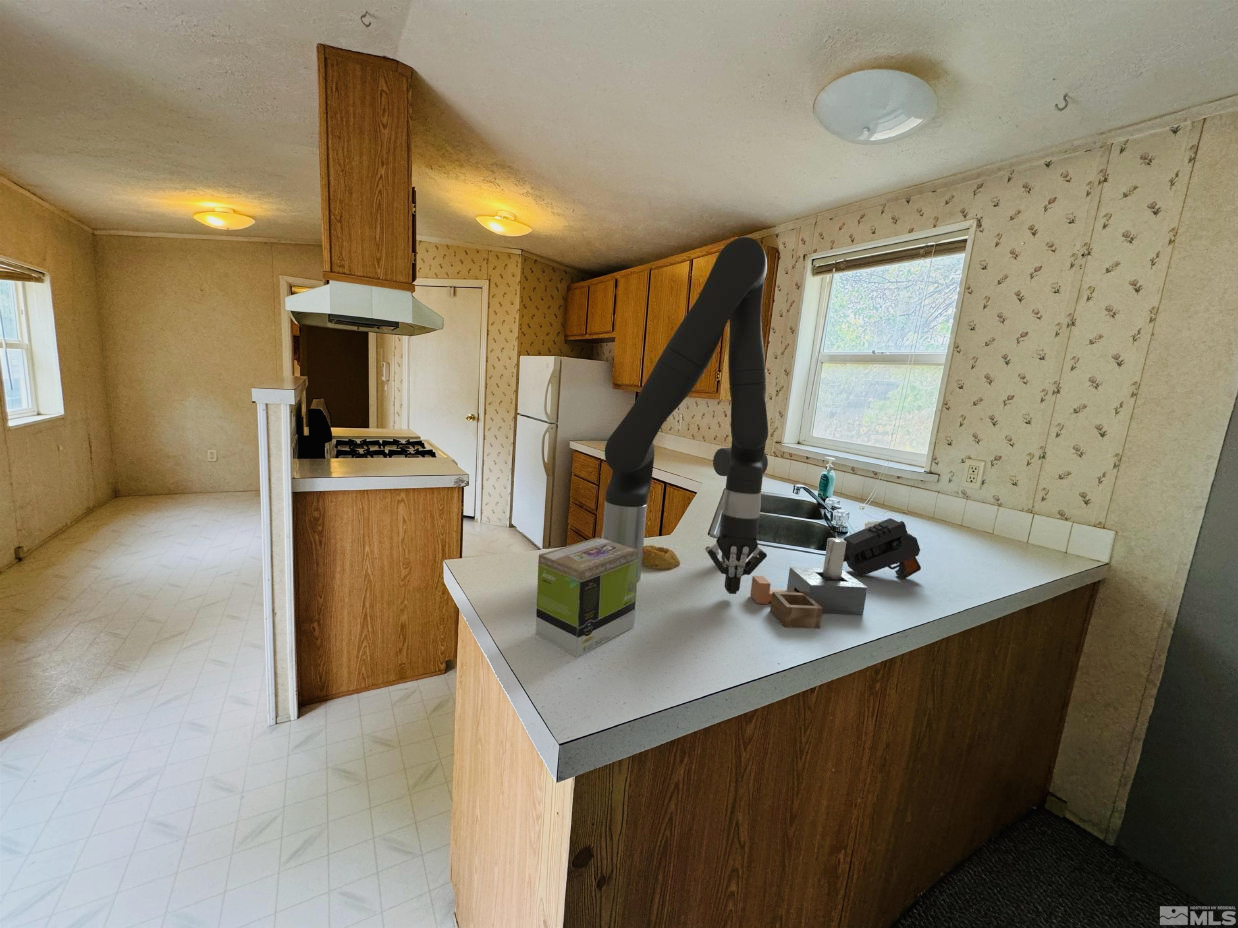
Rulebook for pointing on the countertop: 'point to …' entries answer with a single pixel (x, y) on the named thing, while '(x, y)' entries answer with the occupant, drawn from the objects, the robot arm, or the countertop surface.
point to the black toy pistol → (883, 549)
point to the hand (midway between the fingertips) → (731, 592)
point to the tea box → (586, 594)
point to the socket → (829, 590)
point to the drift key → (762, 590)
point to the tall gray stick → (834, 559)
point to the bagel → (659, 558)
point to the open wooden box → (796, 610)
